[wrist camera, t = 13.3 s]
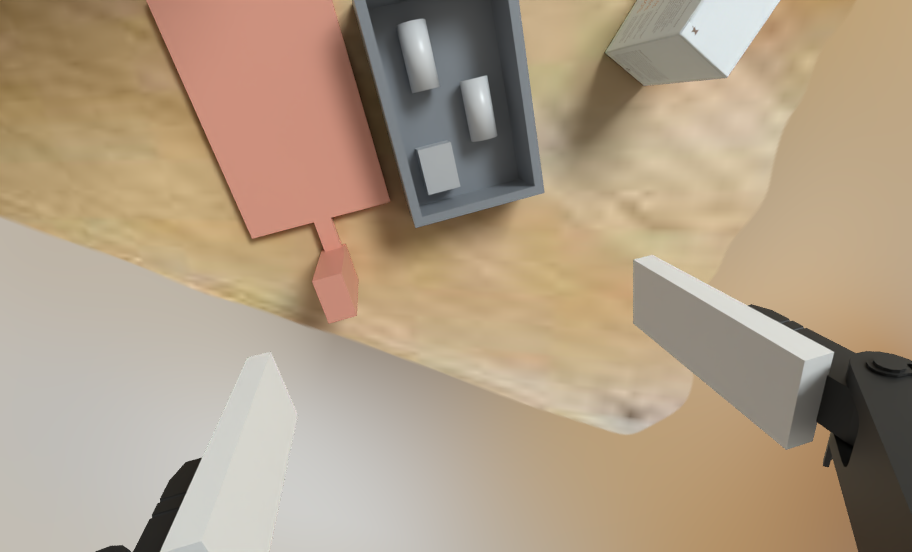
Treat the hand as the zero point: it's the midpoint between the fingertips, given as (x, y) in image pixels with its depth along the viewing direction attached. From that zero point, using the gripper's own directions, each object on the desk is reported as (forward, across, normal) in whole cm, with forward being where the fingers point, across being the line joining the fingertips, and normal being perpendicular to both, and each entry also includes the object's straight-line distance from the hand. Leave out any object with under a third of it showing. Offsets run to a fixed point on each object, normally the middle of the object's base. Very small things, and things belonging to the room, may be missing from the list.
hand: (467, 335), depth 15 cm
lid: (+28, -8, +5) cm, 30 cm away
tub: (+28, +6, +7) cm, 29 cm away
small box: (+28, +26, +9) cm, 39 cm away
